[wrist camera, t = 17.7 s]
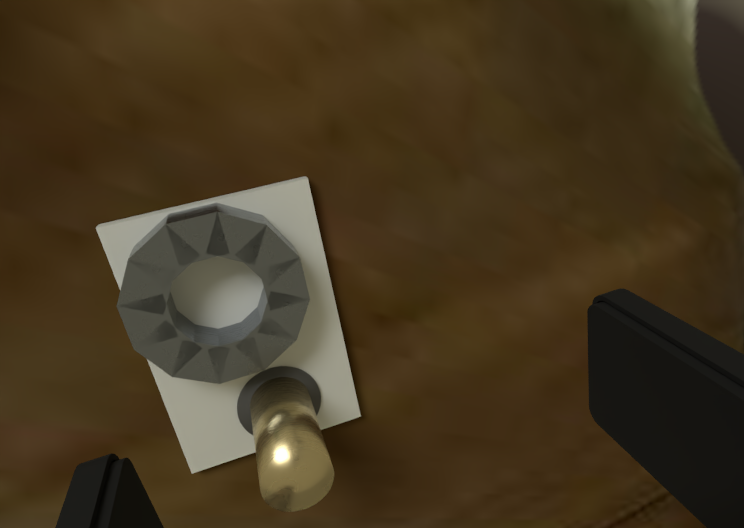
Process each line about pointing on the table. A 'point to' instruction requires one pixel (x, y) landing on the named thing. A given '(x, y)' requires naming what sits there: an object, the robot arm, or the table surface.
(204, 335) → the ring
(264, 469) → the brass round-ended cylinder
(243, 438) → the base plate
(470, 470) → the table surface
